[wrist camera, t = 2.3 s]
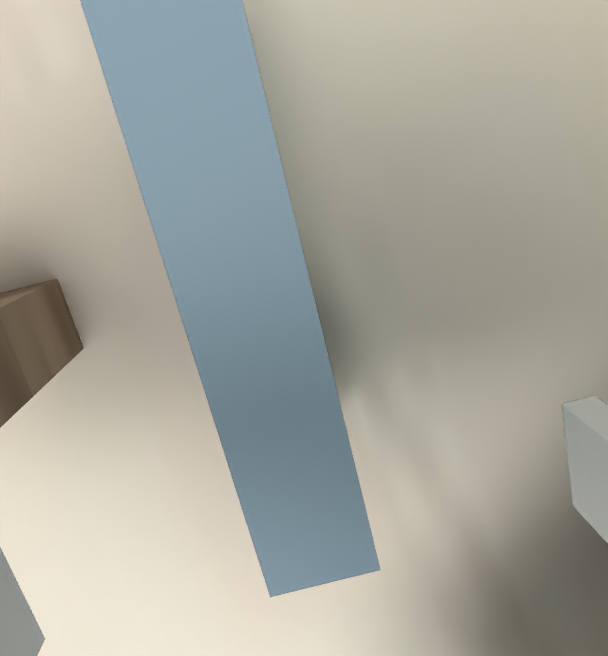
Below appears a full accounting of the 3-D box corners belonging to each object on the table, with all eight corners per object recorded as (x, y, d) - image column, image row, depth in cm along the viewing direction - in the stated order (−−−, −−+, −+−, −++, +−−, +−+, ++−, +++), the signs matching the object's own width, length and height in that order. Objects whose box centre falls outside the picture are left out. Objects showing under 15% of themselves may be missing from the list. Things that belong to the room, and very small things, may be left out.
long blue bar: (237, 13, 20) (208, -139, 10) (335, 411, 24) (380, 569, 14) (156, 34, 20) (48, -98, 10) (269, 427, 24) (270, 596, 14)
